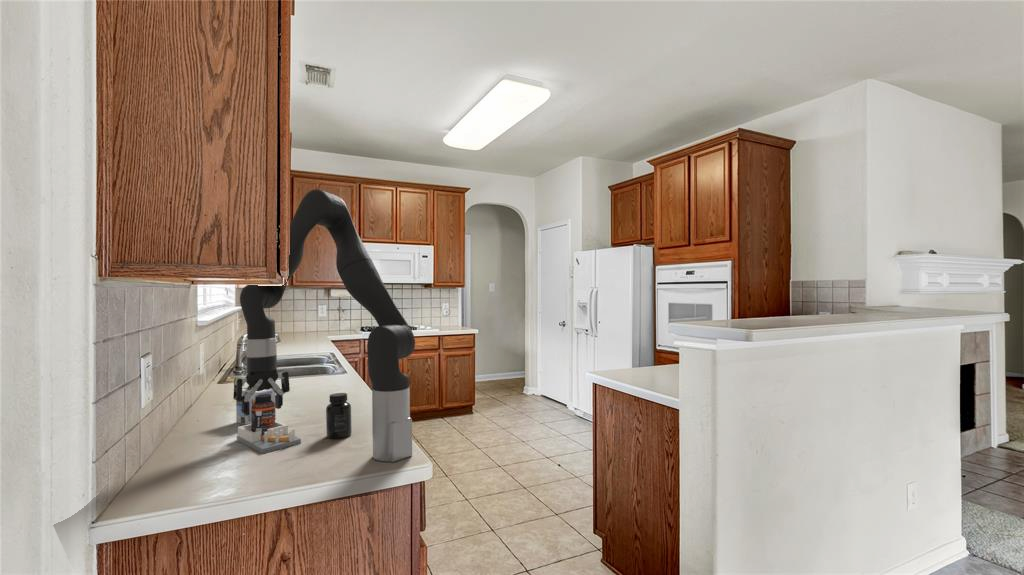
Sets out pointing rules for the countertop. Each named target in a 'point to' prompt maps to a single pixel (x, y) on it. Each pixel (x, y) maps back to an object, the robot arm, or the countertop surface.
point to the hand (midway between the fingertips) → (262, 411)
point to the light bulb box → (247, 418)
